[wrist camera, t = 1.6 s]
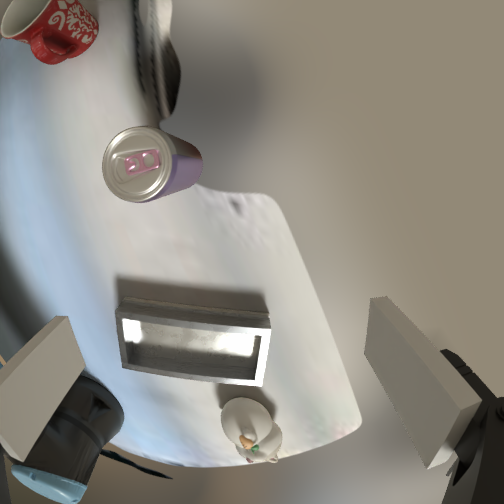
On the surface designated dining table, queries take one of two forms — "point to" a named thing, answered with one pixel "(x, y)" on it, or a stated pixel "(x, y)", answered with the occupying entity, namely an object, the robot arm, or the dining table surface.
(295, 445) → the dining table surface
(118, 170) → the beverage can
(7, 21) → the mug
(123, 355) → the grey shallow rectangular tray
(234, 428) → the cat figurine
